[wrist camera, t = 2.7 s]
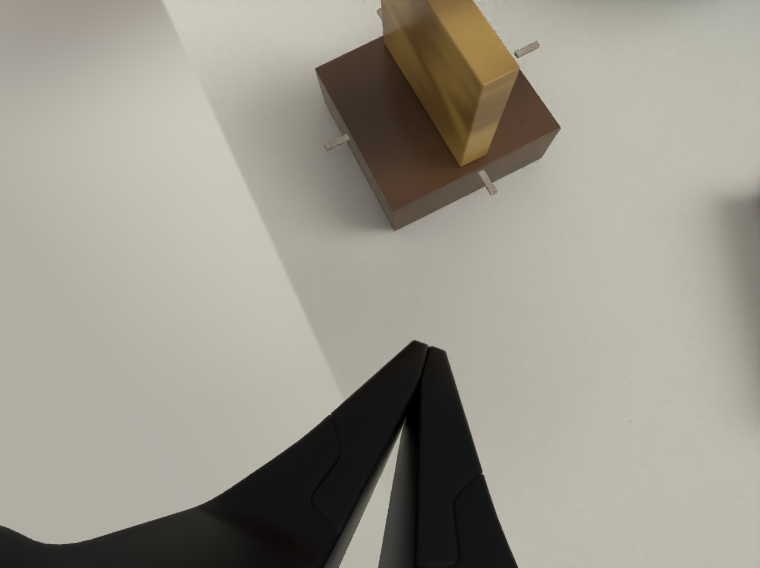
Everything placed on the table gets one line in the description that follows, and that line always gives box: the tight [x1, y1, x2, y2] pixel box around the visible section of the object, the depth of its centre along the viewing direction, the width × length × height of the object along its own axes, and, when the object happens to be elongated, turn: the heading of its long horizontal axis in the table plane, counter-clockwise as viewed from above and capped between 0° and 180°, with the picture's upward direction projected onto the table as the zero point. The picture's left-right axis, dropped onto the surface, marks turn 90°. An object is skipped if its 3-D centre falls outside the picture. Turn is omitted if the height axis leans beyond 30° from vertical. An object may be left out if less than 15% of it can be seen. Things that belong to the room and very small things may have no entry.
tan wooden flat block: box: [381, 0, 520, 167], centre depth 18 cm, size 9×2×6 cm, turn 27°
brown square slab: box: [315, 8, 561, 231], centre depth 22 cm, size 13×13×3 cm
